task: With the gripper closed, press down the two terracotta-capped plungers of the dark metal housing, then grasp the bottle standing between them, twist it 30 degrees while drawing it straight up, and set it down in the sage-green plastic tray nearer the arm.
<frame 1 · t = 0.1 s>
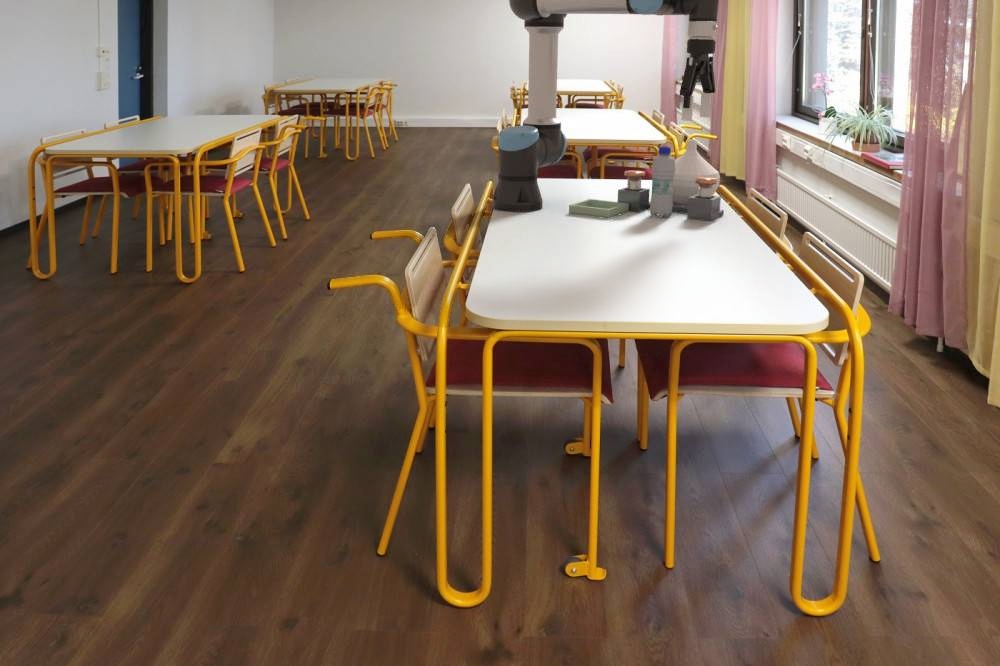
hand: (695, 118, 269), 28 cm above the table, fingers open, 13 cm apart
plunger right: (705, 193, 276), point 7 cm above the table, slide at 0.0 cm
housing: (667, 213, 284), on the table
bottle: (660, 216, 280), on the table
plunger left: (634, 185, 288), point 7 cm above the table, slide at 0.0 cm
vase: (687, 203, 302), on the table
tray: (598, 212, 284), on the table
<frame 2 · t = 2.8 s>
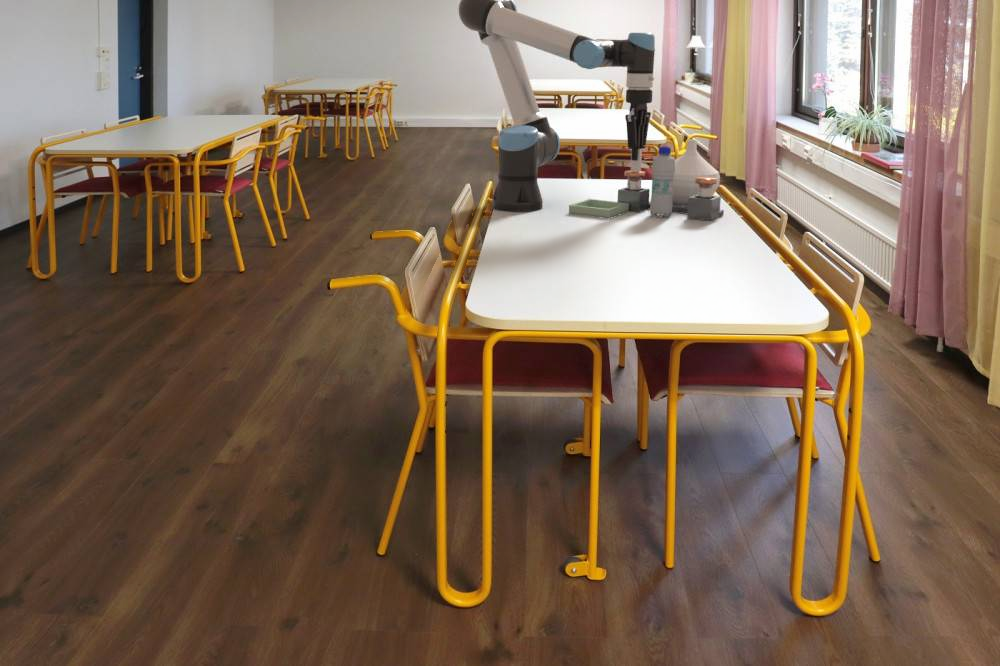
hand: (635, 171, 286), 11 cm above the table, fingers closed
plunger left: (634, 185, 288), point 7 cm above the table, slide at 0.0 cm, touching gripper
everything else where it was.
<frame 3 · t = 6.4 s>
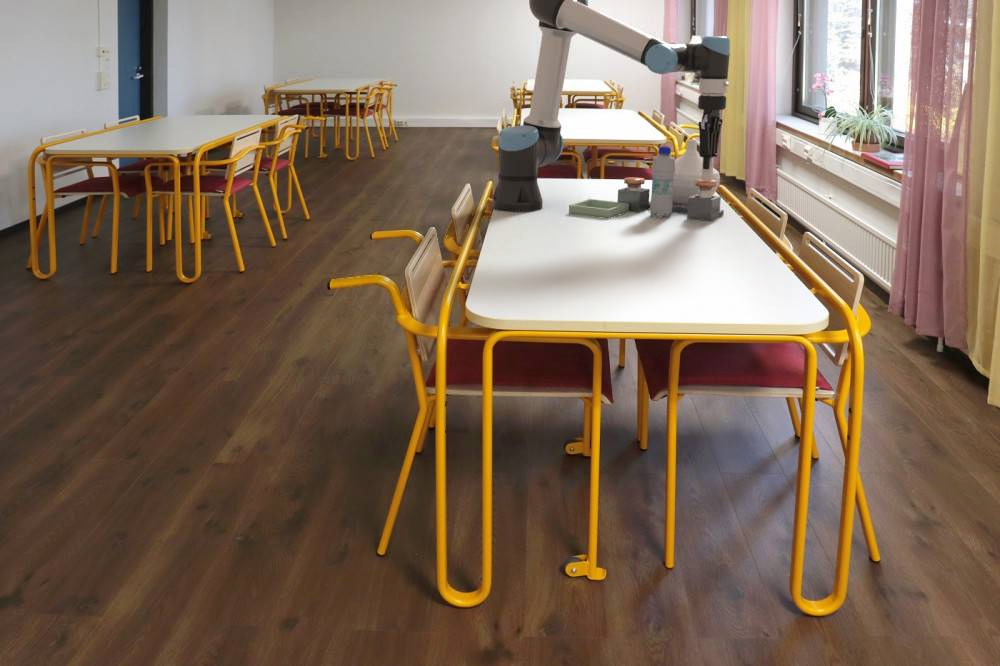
hand: (706, 180, 275), 11 cm above the table, fingers closed
plunger right: (704, 195, 277), point 6 cm above the table, slide at 0.7 cm, touching gripper
plunger left: (633, 192, 288), point 5 cm above the table, slide at 2.1 cm
everything else where it was.
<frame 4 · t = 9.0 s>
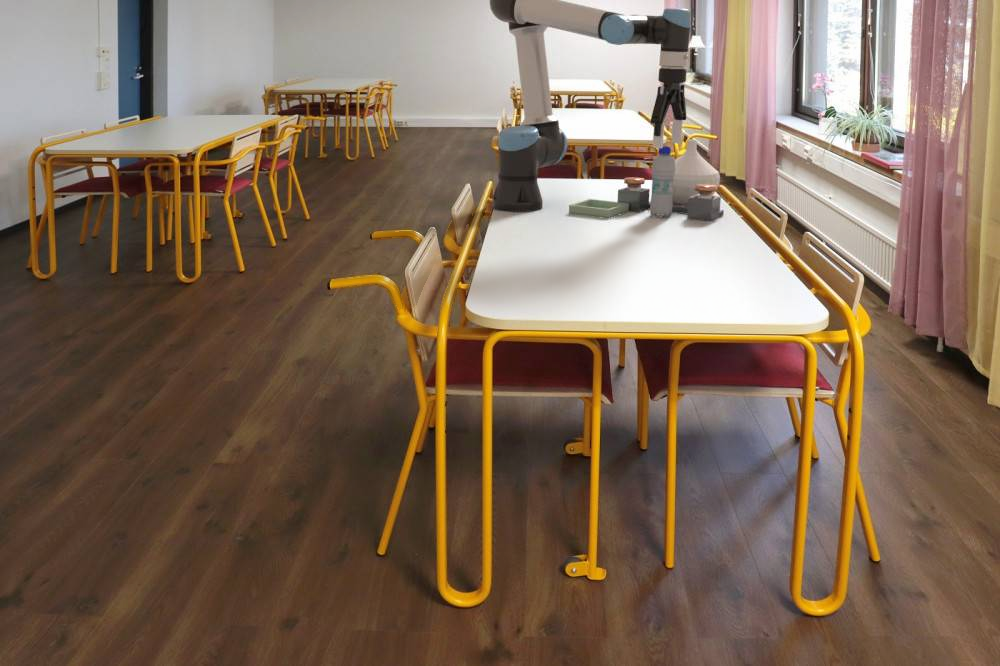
hand: (666, 145, 274), 20 cm above the table, fingers open, 13 cm apart
plunger right: (704, 200, 277), point 5 cm above the table, slide at 2.1 cm
everything else where it was.
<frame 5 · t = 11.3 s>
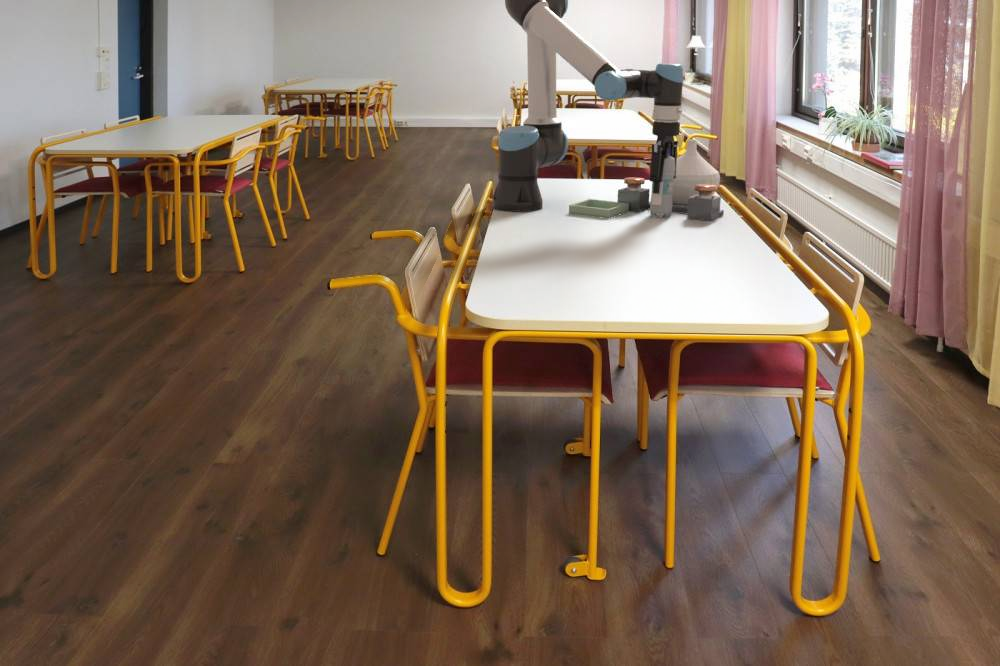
hand: (661, 202, 279), 4 cm above the table, fingers closed on bottle, 6 cm apart
bottle: (660, 216, 280), on the table, touching gripper
everything else where it was.
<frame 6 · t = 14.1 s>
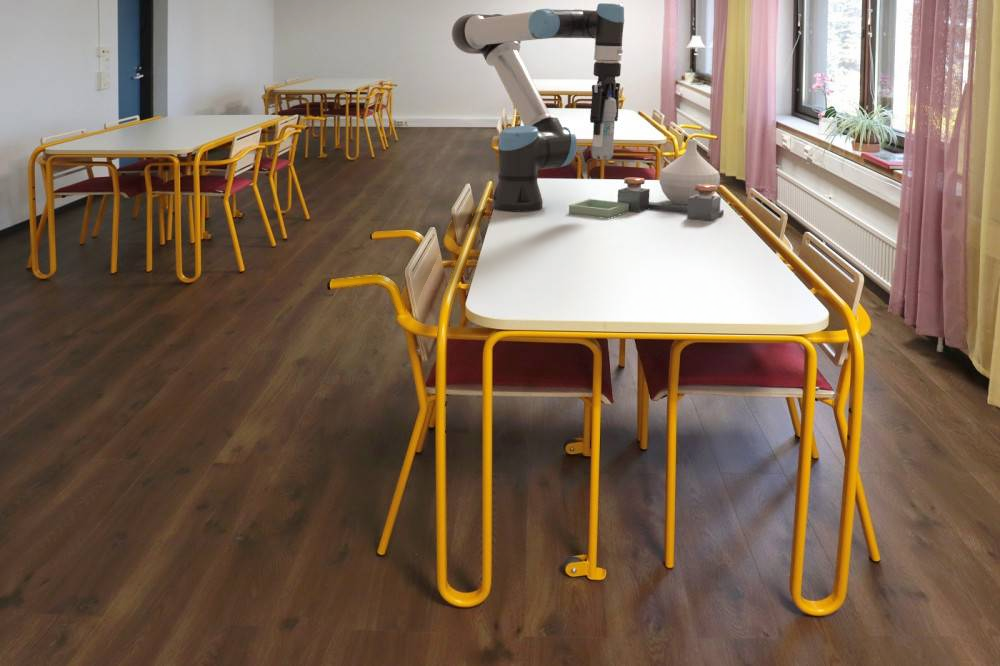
hand: (602, 145, 279), 20 cm above the table, fingers closed on bottle, 6 cm apart
bottle: (601, 159, 280), point 15 cm above the table, touching gripper
everything else where it was.
when the fingers open (6 cm above the table, at t = 17.1 s): bottle drops 2 cm, resting on tray.
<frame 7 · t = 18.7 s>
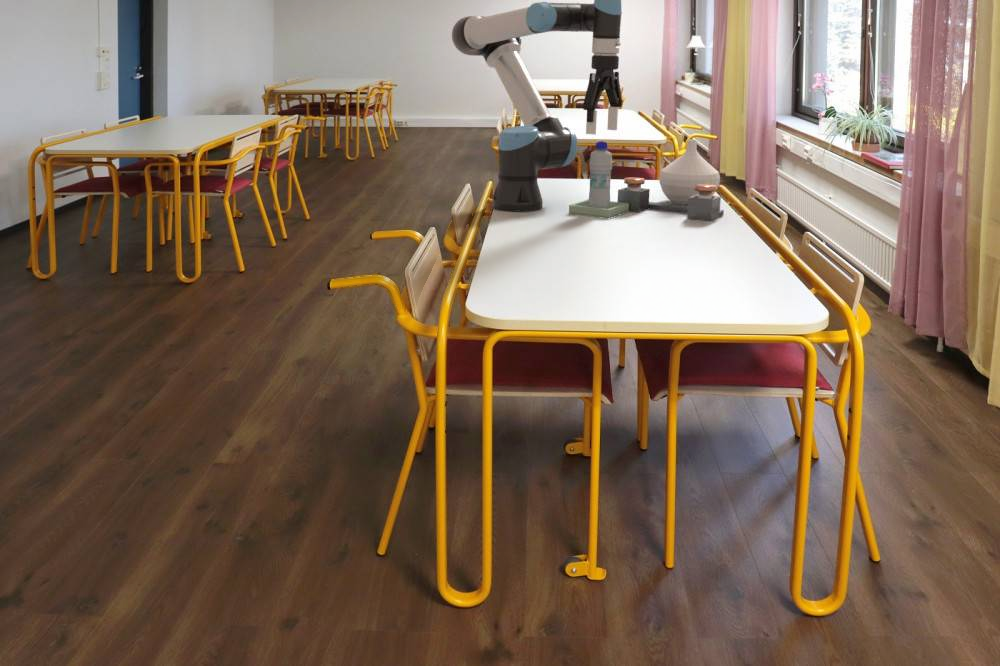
hand: (601, 132, 277), 23 cm above the table, fingers open, 13 cm apart
bottle: (598, 211, 284), resting on tray
everything else where it was.
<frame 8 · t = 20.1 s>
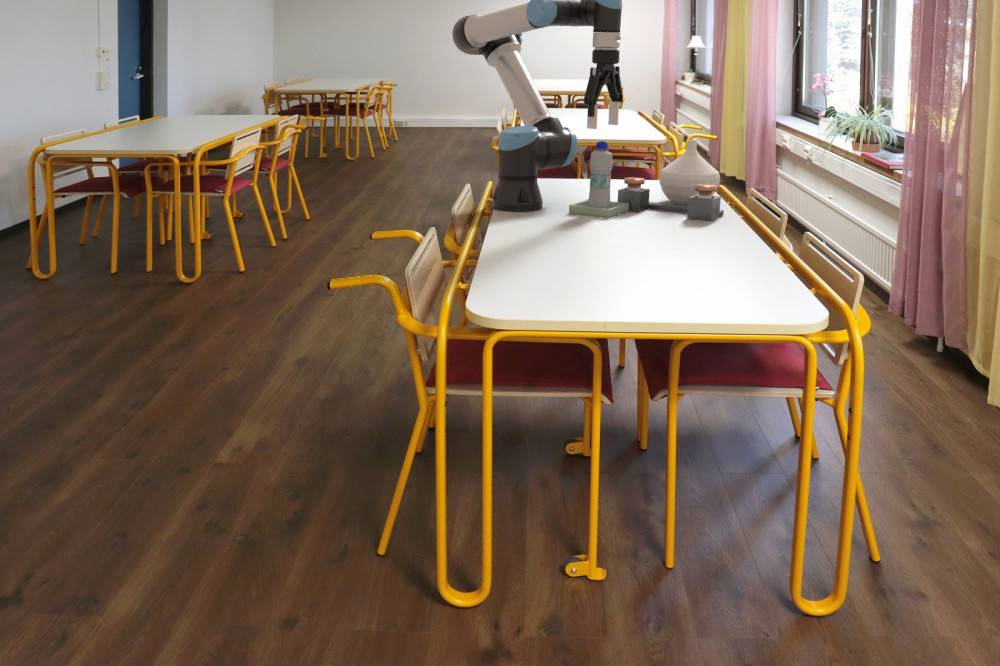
hand: (602, 126, 277), 25 cm above the table, fingers open, 13 cm apart
nothing on the table moved.
at the end: plunger left slide at 2.1 cm; plunger right slide at 2.1 cm; bottle inside the target area on the tray (0.0 cm from its centre), point 0.4 cm above the tray's base; bottle tilted 0° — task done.
